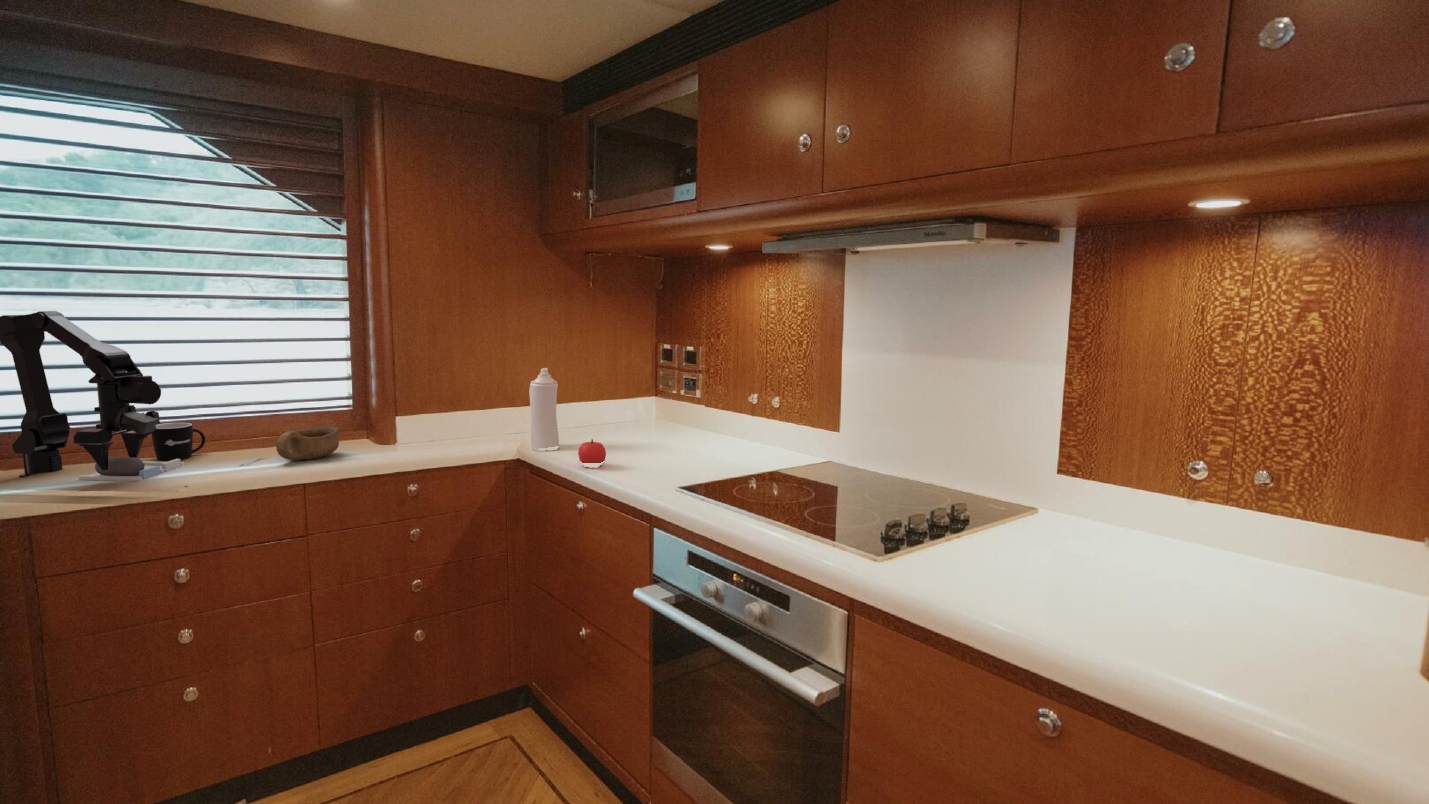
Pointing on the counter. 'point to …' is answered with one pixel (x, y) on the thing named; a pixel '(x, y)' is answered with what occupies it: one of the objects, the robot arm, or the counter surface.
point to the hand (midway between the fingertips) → (119, 465)
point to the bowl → (308, 443)
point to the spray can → (543, 411)
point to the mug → (174, 441)
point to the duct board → (149, 471)
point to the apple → (592, 452)
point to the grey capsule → (121, 466)
